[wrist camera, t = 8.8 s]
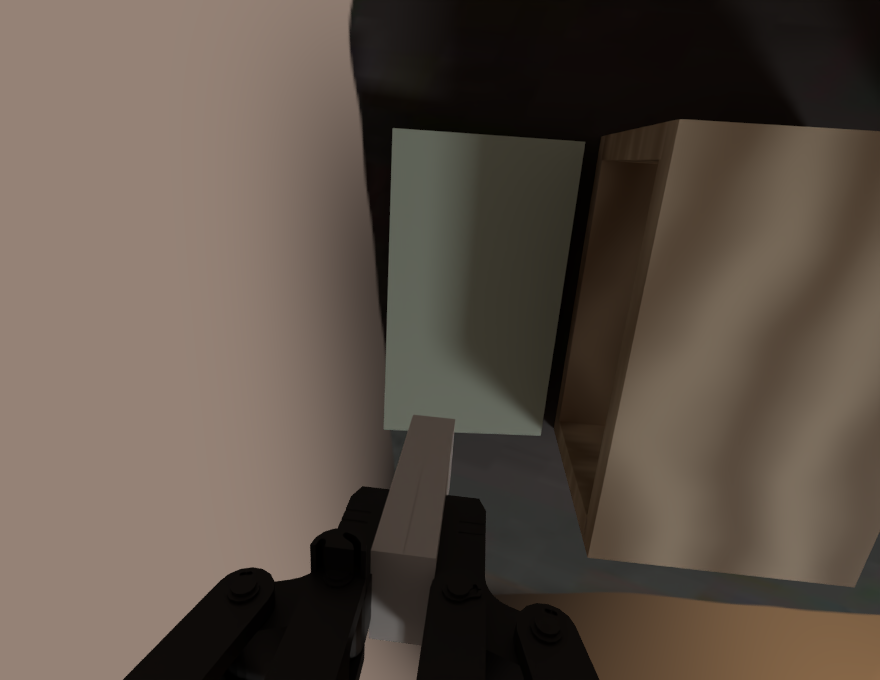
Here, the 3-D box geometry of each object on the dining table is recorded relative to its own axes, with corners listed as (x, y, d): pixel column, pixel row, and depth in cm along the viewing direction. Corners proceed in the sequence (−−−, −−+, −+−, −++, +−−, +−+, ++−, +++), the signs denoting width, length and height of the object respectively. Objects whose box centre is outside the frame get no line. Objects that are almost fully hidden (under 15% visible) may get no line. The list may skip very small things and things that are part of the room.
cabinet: (821, 150, 32) (1056, 142, 19) (731, 446, 40) (854, 587, 26) (601, 136, 33) (679, 119, 20) (553, 428, 40) (587, 557, 27)
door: (585, 141, 31) (392, 128, 30) (540, 435, 38) (383, 429, 38) (575, 142, 33) (394, 129, 32) (534, 421, 40) (385, 415, 40)
